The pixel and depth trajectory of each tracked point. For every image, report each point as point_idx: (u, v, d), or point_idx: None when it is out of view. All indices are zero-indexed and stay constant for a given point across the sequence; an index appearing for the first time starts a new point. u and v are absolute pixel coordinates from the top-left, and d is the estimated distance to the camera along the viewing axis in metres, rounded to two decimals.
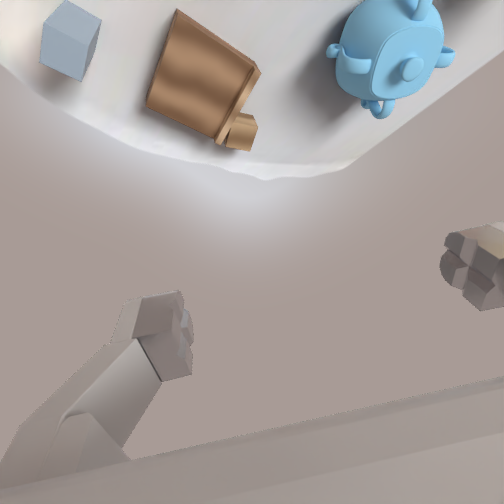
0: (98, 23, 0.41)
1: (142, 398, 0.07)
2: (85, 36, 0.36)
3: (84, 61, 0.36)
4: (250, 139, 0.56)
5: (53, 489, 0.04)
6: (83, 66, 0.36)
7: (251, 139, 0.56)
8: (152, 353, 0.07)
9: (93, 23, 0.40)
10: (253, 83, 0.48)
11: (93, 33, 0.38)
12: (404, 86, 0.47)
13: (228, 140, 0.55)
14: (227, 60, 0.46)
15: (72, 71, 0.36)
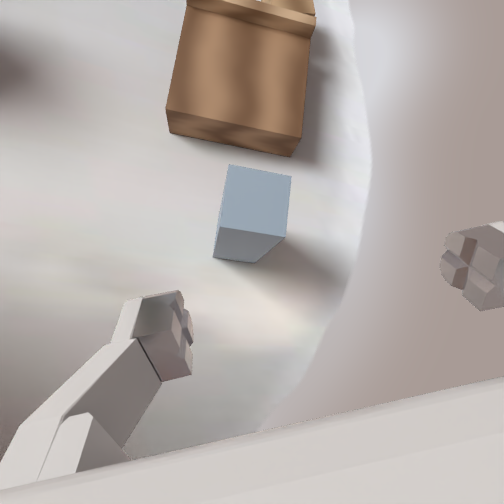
0: None
1: (142, 398, 0.07)
2: (224, 188, 0.22)
3: (255, 171, 0.20)
4: None
5: (53, 489, 0.04)
6: (264, 172, 0.20)
7: None
8: (152, 353, 0.07)
9: None
10: None
11: (223, 193, 0.25)
12: None
13: (303, 11, 0.33)
14: (194, 40, 0.31)
15: (279, 189, 0.20)
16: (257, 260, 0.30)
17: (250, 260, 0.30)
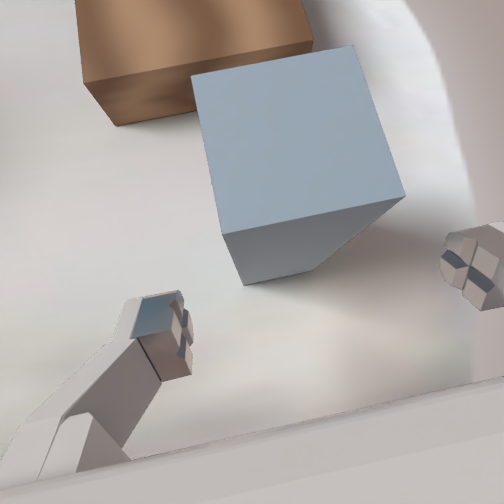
0: None
1: (142, 398, 0.07)
2: None
3: (261, 66, 0.08)
4: None
5: (53, 489, 0.04)
6: (283, 62, 0.08)
7: None
8: (152, 353, 0.07)
9: None
10: None
11: None
12: None
13: None
14: None
15: (337, 84, 0.08)
16: (317, 265, 0.17)
17: (305, 269, 0.17)
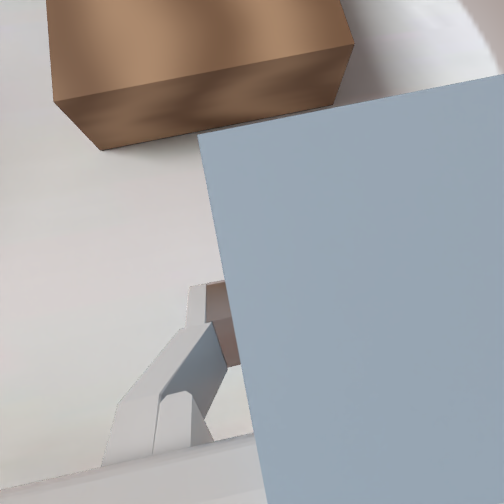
0: None
1: (214, 382, 0.07)
2: None
3: (347, 114, 0.04)
4: None
5: (53, 489, 0.04)
6: (394, 104, 0.04)
7: None
8: (223, 337, 0.07)
9: None
10: None
11: None
12: None
13: None
14: None
15: None
16: None
17: None
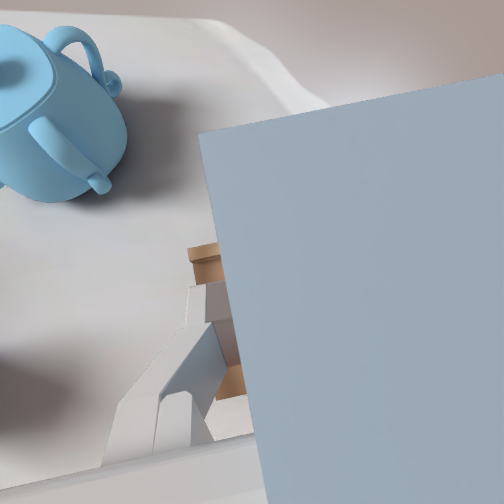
0: None
1: (214, 382, 0.07)
2: None
3: (347, 113, 0.04)
4: None
5: (53, 489, 0.04)
6: (395, 103, 0.04)
7: None
8: (223, 338, 0.07)
9: None
10: (206, 247, 0.28)
11: None
12: (12, 47, 0.26)
13: None
14: None
15: None
16: None
17: None
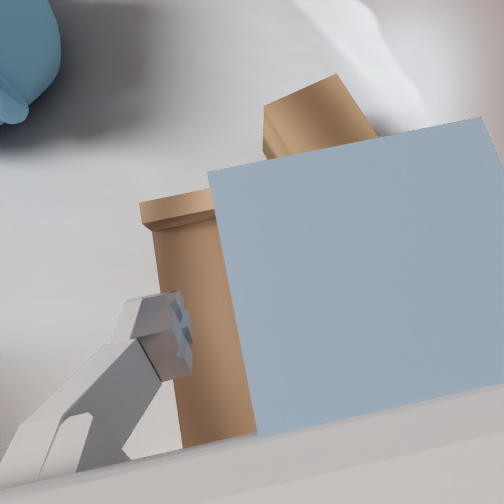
0: None
1: (142, 398, 0.07)
2: None
3: (326, 155, 0.05)
4: (306, 97, 0.18)
5: (53, 489, 0.04)
6: (364, 147, 0.05)
7: (304, 95, 0.18)
8: (152, 353, 0.07)
9: None
10: (173, 201, 0.16)
11: None
12: None
13: None
14: (188, 295, 0.16)
15: (460, 189, 0.04)
16: None
17: None
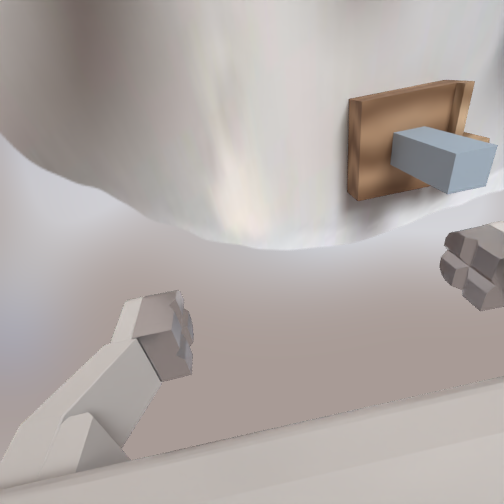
0: (433, 129, 0.39)
1: (142, 398, 0.07)
2: (472, 141, 0.32)
3: (491, 163, 0.31)
4: None
5: (53, 489, 0.04)
6: (489, 169, 0.32)
7: None
8: (152, 353, 0.07)
9: (436, 131, 0.38)
10: (468, 98, 0.38)
11: (461, 136, 0.35)
12: None
13: None
14: (425, 101, 0.39)
15: (477, 181, 0.32)
16: None
17: (395, 162, 0.41)
